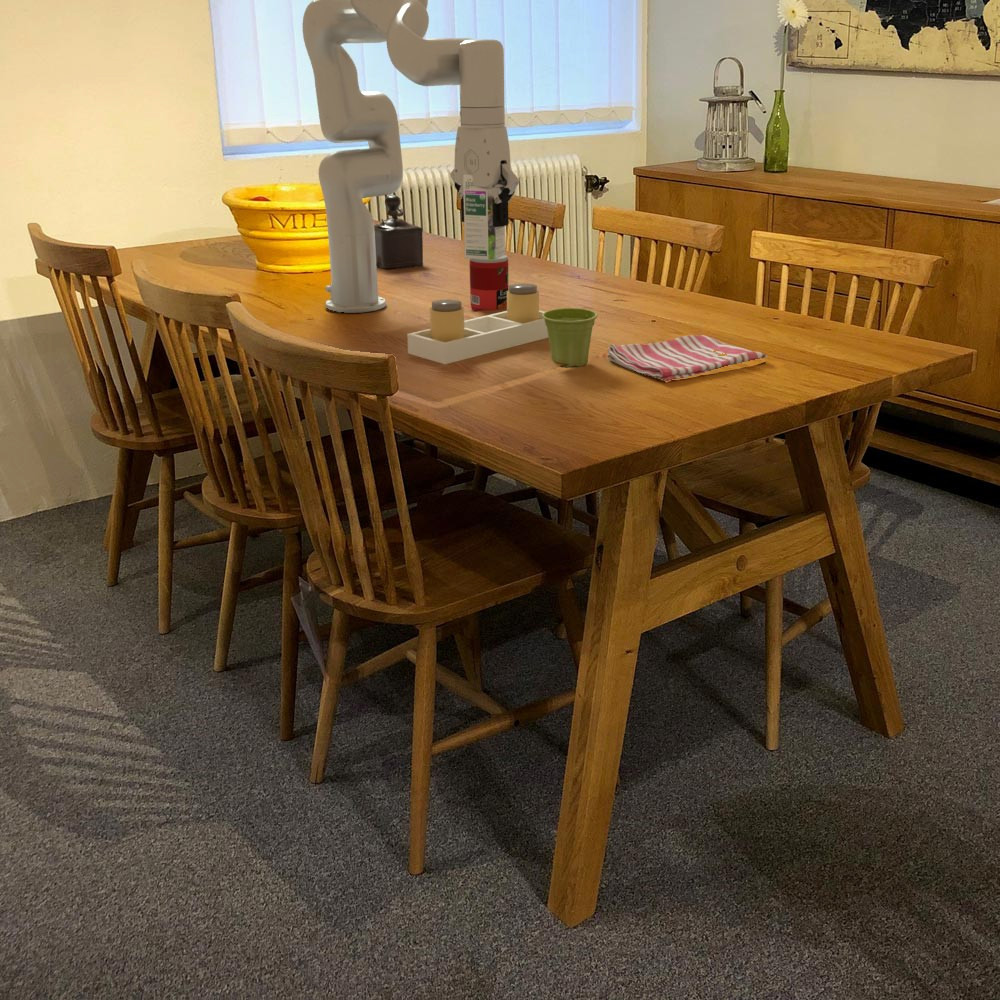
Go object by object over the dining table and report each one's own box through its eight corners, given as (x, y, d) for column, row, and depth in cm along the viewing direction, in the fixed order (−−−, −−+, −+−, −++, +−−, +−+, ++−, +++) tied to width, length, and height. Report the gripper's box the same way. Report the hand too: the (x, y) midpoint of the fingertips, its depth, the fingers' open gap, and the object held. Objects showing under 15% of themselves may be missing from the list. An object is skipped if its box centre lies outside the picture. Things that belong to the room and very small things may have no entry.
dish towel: (603, 363, 201) (603, 343, 200) (708, 345, 212) (709, 326, 210) (662, 387, 187) (663, 366, 186) (771, 366, 198) (772, 347, 197)
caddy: (408, 357, 204) (407, 333, 203) (523, 328, 222) (523, 306, 221) (445, 368, 198) (444, 344, 196) (561, 338, 216) (561, 315, 214)
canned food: (504, 314, 234) (504, 260, 230) (466, 313, 235) (465, 259, 231) (512, 305, 241) (511, 253, 237) (474, 304, 242) (473, 252, 238)
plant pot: (580, 373, 194) (581, 323, 190) (532, 366, 198) (532, 316, 195) (605, 360, 201) (607, 311, 198) (558, 353, 206) (559, 305, 202)
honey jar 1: (424, 353, 204) (422, 303, 201) (449, 346, 208) (448, 297, 204) (446, 359, 200) (444, 308, 196) (472, 352, 204) (470, 302, 200)
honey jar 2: (500, 334, 216) (500, 286, 212) (523, 328, 219) (523, 281, 216) (522, 339, 212) (522, 291, 208) (545, 333, 215) (545, 286, 212)
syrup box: (463, 258, 202) (461, 173, 196) (476, 253, 207) (475, 169, 202) (493, 260, 200) (492, 175, 194) (506, 254, 205) (505, 171, 200)
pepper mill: (366, 263, 286) (362, 189, 279) (407, 259, 291) (404, 185, 284) (391, 274, 273) (387, 196, 266) (433, 269, 278) (430, 193, 271)
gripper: (432, 117, 198) (436, 221, 205) (501, 121, 186) (503, 231, 193) (465, 114, 203) (467, 216, 210) (534, 118, 191) (534, 226, 198)
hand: (484, 223), depth 201 cm, fingers closed on syrup box, 7 cm apart
